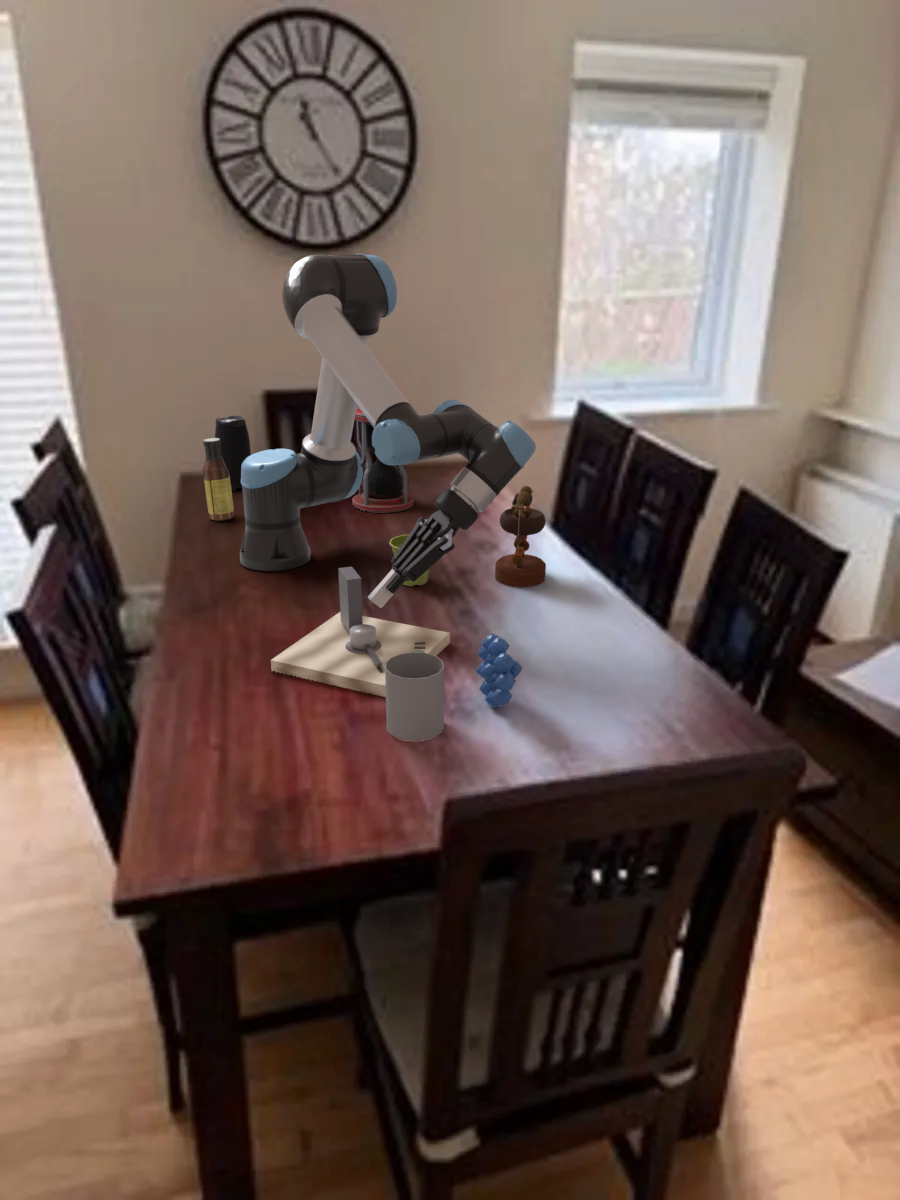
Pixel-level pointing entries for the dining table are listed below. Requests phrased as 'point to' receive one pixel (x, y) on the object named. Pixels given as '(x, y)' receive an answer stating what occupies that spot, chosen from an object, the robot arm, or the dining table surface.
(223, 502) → the sauce bottle
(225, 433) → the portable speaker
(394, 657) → the cup
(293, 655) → the dial plate
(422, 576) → the plant pot
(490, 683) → the grapes
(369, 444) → the hourglass
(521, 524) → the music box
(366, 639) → the lever dial gauge
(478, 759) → the dining table surface
